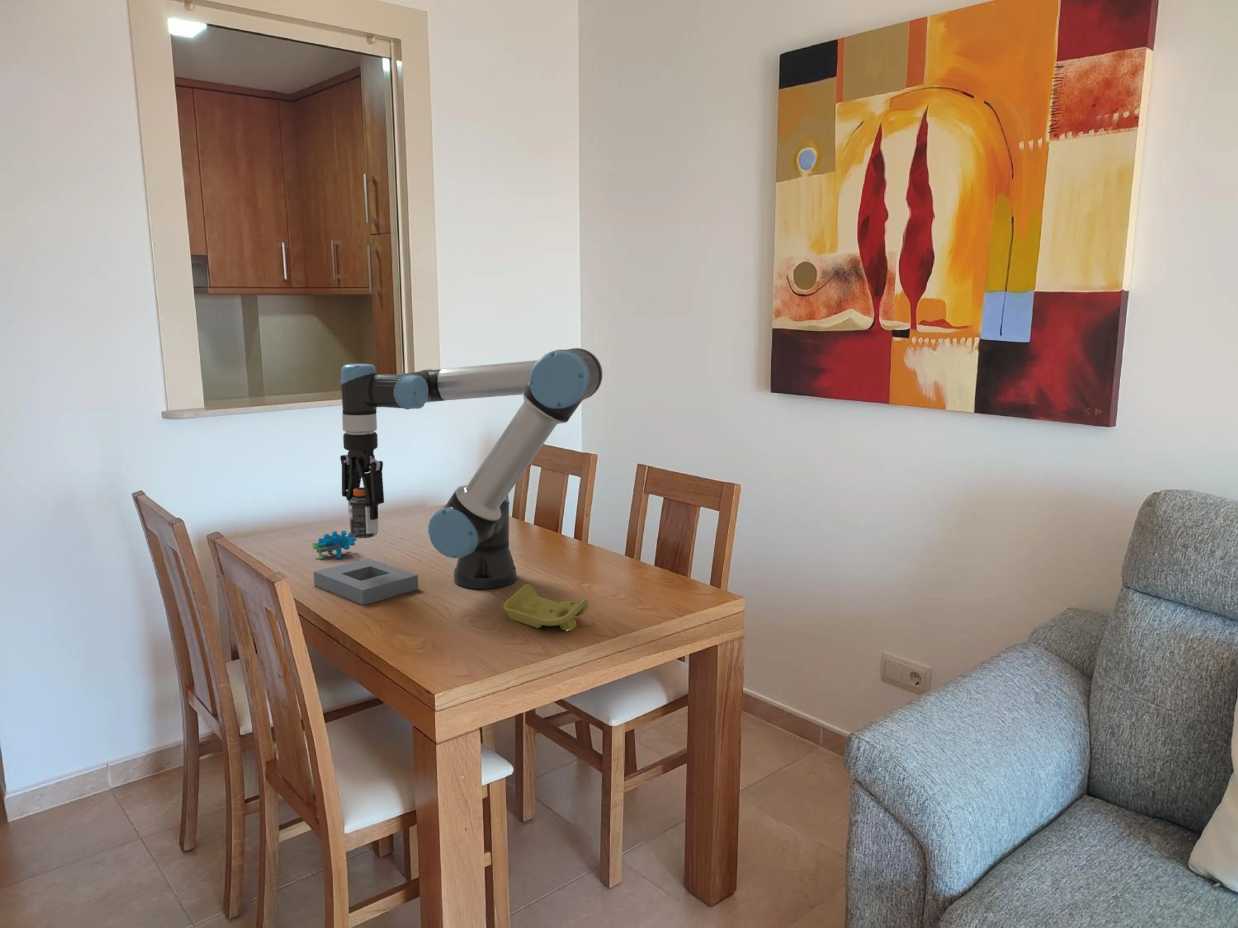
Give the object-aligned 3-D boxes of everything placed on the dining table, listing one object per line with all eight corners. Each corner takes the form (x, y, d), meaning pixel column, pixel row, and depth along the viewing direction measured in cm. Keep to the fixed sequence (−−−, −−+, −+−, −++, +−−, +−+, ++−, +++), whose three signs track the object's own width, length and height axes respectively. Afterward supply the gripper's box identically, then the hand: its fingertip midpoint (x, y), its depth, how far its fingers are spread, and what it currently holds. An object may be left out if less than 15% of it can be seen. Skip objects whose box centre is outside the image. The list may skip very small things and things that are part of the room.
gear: (357, 543, 236) (353, 525, 228) (360, 562, 233) (356, 544, 225) (315, 552, 233) (309, 533, 225) (318, 571, 230) (312, 553, 222)
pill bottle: (382, 534, 204) (381, 487, 202) (364, 540, 199) (363, 492, 197) (363, 531, 207) (361, 484, 205) (345, 536, 202) (343, 489, 200)
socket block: (418, 589, 205) (417, 574, 204) (363, 605, 193) (362, 590, 193) (368, 571, 217) (368, 558, 217) (314, 585, 206) (313, 571, 205)
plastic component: (498, 607, 187) (530, 578, 193) (512, 633, 190) (543, 604, 196) (558, 625, 173) (590, 594, 178) (571, 653, 176) (603, 621, 181)
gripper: (398, 434, 195) (401, 534, 200) (351, 426, 207) (354, 520, 212) (370, 438, 190) (373, 540, 194) (322, 429, 202) (327, 525, 206)
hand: (363, 529), depth 203 cm, fingers closed on pill bottle, 6 cm apart
